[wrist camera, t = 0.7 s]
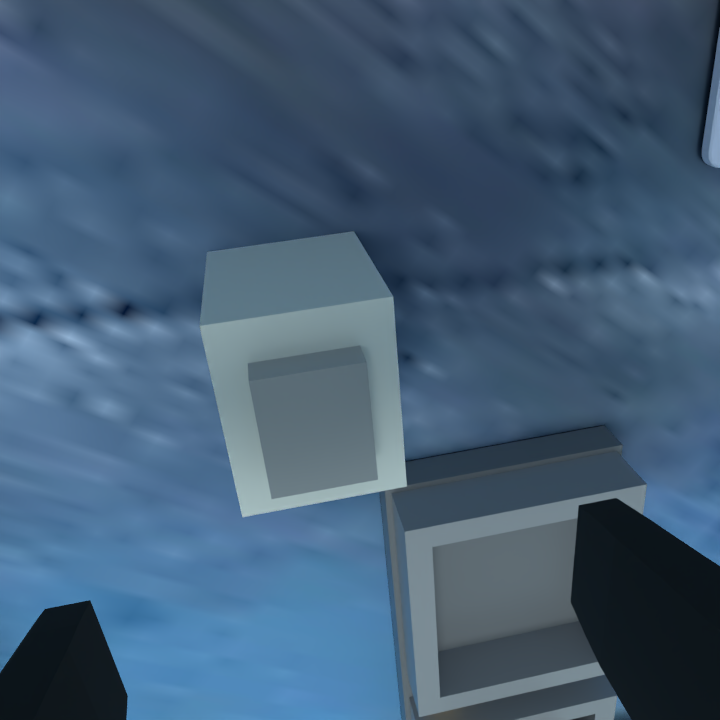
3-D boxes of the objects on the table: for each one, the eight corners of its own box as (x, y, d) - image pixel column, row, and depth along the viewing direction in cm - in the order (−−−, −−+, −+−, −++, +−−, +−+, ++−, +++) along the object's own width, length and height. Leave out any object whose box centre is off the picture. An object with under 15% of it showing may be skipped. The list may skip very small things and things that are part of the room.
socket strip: (604, 425, 23) (654, 477, 20) (571, 757, 31) (603, 824, 29) (376, 467, 22) (397, 527, 19) (409, 796, 30) (426, 869, 28)
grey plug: (353, 230, 18) (402, 310, 13) (369, 387, 20) (414, 507, 15) (207, 251, 18) (197, 342, 12) (239, 409, 20) (243, 540, 15)
